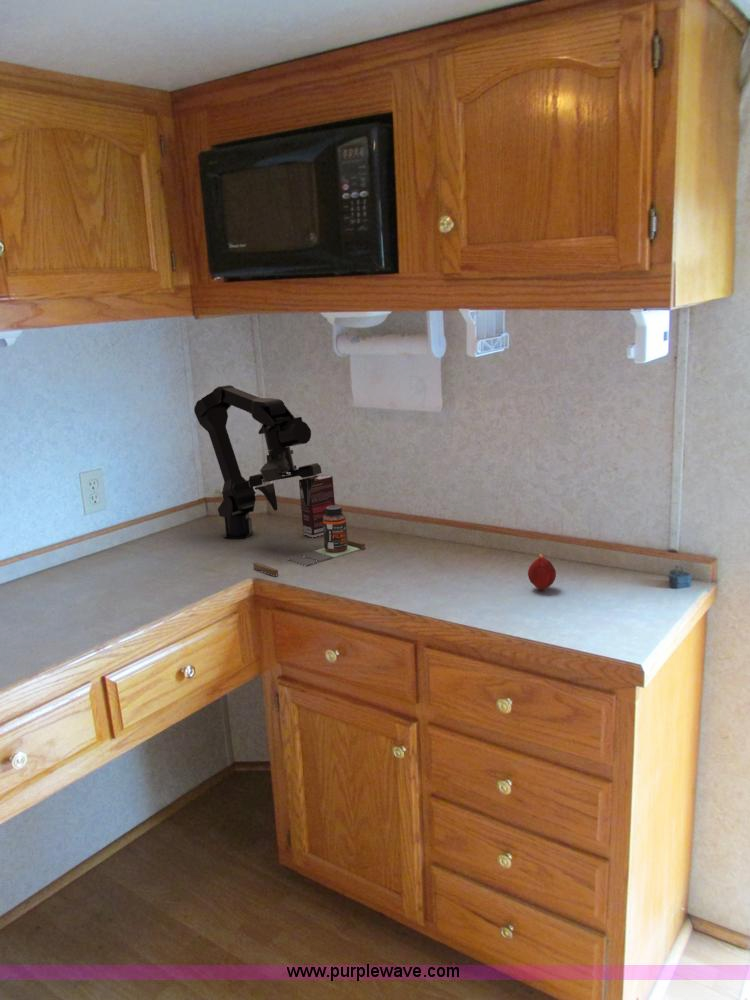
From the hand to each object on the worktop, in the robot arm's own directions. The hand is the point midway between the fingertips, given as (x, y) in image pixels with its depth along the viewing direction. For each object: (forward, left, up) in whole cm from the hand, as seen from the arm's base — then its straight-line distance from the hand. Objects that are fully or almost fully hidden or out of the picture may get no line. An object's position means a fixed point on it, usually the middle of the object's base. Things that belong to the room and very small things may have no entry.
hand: (291, 507), depth 214 cm
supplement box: (+3, +14, -11) cm, 18 cm away
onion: (+63, -29, -11) cm, 70 cm away
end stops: (+7, -9, -11) cm, 15 cm away
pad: (+12, -2, -11) cm, 16 cm away
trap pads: (+7, -9, -11) cm, 15 cm away
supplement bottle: (+12, -2, -11) cm, 16 cm away
